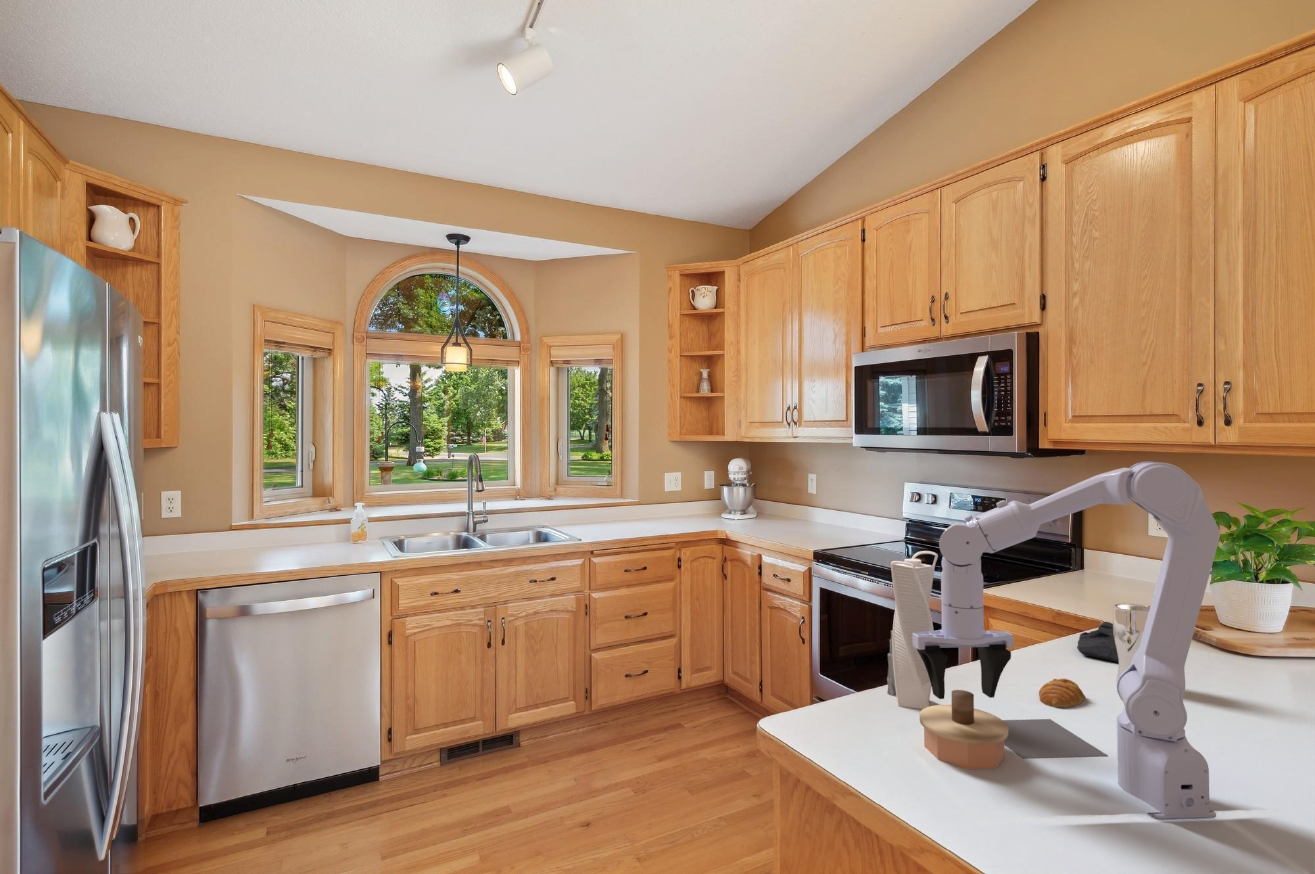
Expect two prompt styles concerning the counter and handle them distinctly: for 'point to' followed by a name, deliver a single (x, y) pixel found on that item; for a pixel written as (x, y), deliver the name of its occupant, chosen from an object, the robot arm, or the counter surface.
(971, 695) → the lid
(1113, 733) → the counter surface
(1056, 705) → the pastry
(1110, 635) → the dark slate chunk
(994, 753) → the bowl
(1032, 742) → the mat
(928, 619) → the skyscraper
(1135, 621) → the beer glass
